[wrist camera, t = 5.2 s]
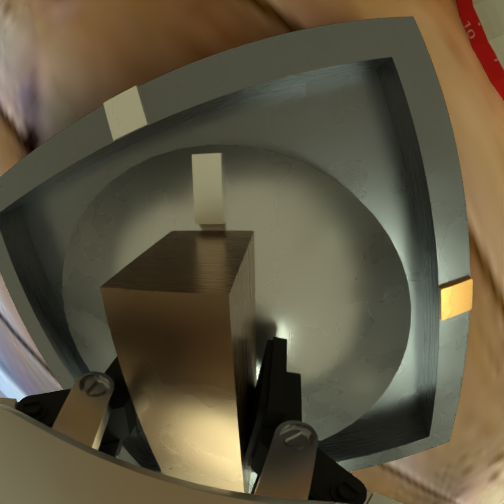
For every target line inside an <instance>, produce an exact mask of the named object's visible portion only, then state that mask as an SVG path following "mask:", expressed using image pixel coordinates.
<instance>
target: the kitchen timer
mask: <svg viewBox="0 0 504 504" xmlns="http://www.w3.org/2000/svg"><path fill="white" fill-rule="evenodd" d="M456 1H457V6H458V10H459V15H460V18H461V20H462V22H463V25H464V27H465V30H466V32H467V35H468V37H469V40H470V42H471V45H472V48H473V50H474V51H475V53H476V55H477V57H478V58H479V60H480V62H481V64H482V66H483V68H484V70H485V72H486V73H487V75H488V77H489V79H490V81H491V83H492V84H493V86H494V87H495V89H496V90H497V91H498V93H499V94H500V96H501V97H502V99H503V100H504V0H456Z"/></svg>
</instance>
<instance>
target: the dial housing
mask: <svg viewBox="0 0 504 504" xmlns="http://www.w3.org/2000/svg"><path fill="white" fill-rule="evenodd" d="M103 104H104V105H103V106H101V107H99V108H97V109H96V110H94V111H92V112H91V113H89V114H87V115H86V116H84V117H82V118H81V119H79V120H77V121H76V122H74V123H73V124H71V125H70V126H68V127H67V128H65V129H63V130H62V131H60V132H59V133H57V134H56V135H55V136H53V137H52V138H50V139H49V140H47V141H46V142H45V143H43V144H42V145H40V146H39V147H38V148H36V149H35V150H34V151H32V152H31V153H30V154H28V155H27V156H26V157H24V158H23V159H22V160H20V161H19V162H18V163H17V164H15V165H14V166H13V167H12V168H10V169H9V170H8V171H7V172H6V173H4V174H3V175H2V176H1V177H0V273H1V275H2V277H3V280H4V282H5V285H6V287H7V289H8V291H9V294H10V296H11V298H12V300H13V302H14V304H15V307H16V309H17V311H18V313H19V315H20V317H21V319H22V321H23V323H24V325H25V326H26V328H27V330H28V332H29V334H30V336H31V338H32V339H33V341H34V343H35V345H36V347H37V348H38V350H39V352H40V353H41V355H42V357H43V358H44V360H45V362H46V363H47V365H48V367H49V368H50V370H51V371H52V373H53V374H54V376H55V378H56V379H57V381H58V382H59V384H60V385H61V387H62V388H63V389H64V390H66V389H71V388H72V387H73V385H74V383H75V382H76V380H77V379H78V377H79V376H81V375H82V374H84V373H87V372H90V370H89V369H88V367H87V366H86V364H85V363H84V361H83V359H82V357H81V355H80V353H79V351H78V349H77V347H76V345H75V343H74V340H73V338H72V335H71V333H70V330H69V327H68V323H67V319H66V315H65V310H64V302H63V294H62V277H63V267H64V261H65V255H66V251H67V248H68V245H69V241H70V238H71V235H72V233H73V231H74V229H75V227H76V225H77V223H78V221H79V219H80V217H81V215H82V214H83V213H84V211H85V210H86V208H87V207H88V206H89V204H90V203H91V201H92V200H93V199H94V198H95V197H96V196H97V195H98V194H99V193H100V192H101V191H102V190H103V189H104V188H105V187H106V186H107V185H108V184H109V183H110V182H111V181H112V180H114V179H115V178H117V177H118V176H119V175H121V174H122V173H124V172H125V171H126V170H128V169H129V168H131V167H133V166H135V165H137V164H139V163H141V162H143V161H145V160H147V159H149V158H151V157H154V156H157V155H160V154H164V153H167V152H170V151H174V150H177V149H182V148H189V147H196V146H203V145H239V146H246V147H252V148H257V149H263V150H268V151H273V152H276V153H279V154H282V155H285V156H288V157H291V158H294V159H296V160H299V161H301V162H303V163H305V164H307V165H309V166H311V167H313V168H315V169H317V170H319V171H321V172H323V173H324V174H326V175H328V176H329V177H331V178H332V179H334V180H335V181H336V182H338V183H339V184H341V185H342V186H343V187H345V188H346V189H347V190H349V191H350V192H351V193H353V194H354V195H355V196H356V197H357V198H358V199H359V200H360V201H361V202H362V203H363V204H364V205H365V206H366V207H367V208H368V209H369V210H370V211H371V212H372V213H373V214H374V216H375V217H376V218H377V220H378V221H379V223H380V224H381V225H382V227H383V228H384V229H385V231H386V232H387V234H388V235H389V237H390V238H391V240H392V242H393V244H394V246H395V248H396V250H397V252H398V254H399V256H400V258H401V261H402V264H403V267H404V271H405V274H406V277H407V280H408V285H409V292H410V299H411V328H410V333H409V339H408V344H407V348H406V351H405V354H404V357H403V359H402V362H401V365H400V367H399V369H398V371H397V373H396V375H395V376H394V378H393V380H392V382H391V384H390V385H389V386H388V388H387V389H386V391H385V392H384V393H383V395H382V396H381V397H380V399H379V400H378V401H377V402H376V403H375V404H374V405H373V406H372V407H371V408H370V409H369V410H368V411H367V412H366V413H365V414H363V415H362V416H361V417H360V418H358V419H357V420H356V421H355V422H353V423H352V424H351V425H349V426H347V427H346V428H344V429H343V430H341V431H339V432H338V433H336V434H334V435H332V436H330V437H328V438H326V439H323V440H321V441H319V442H318V446H317V447H318V448H319V449H320V450H322V451H323V452H324V453H325V454H327V455H328V456H329V457H330V458H332V459H333V460H334V461H335V462H337V463H338V464H339V465H340V466H342V467H343V468H344V469H345V470H347V471H348V472H349V471H354V470H358V469H362V468H367V467H371V466H375V465H379V464H382V463H386V462H390V461H393V460H397V459H400V458H403V457H406V456H410V455H413V454H416V453H419V452H422V451H425V450H427V449H430V448H433V447H436V446H438V445H441V444H443V443H446V442H448V441H449V440H450V436H451V432H452V428H453V424H454V420H455V416H456V411H457V406H458V401H459V396H460V391H461V385H462V379H463V372H464V365H465V357H466V348H467V338H468V326H469V310H472V284H473V279H472V278H471V277H470V252H469V234H468V222H467V212H466V203H465V195H464V188H463V181H462V175H461V169H460V163H459V158H458V153H457V148H456V143H455V139H454V134H453V130H452V126H451V122H450V118H449V114H448V110H447V107H446V103H445V100H444V97H443V93H442V90H441V87H440V84H439V81H438V78H437V75H436V72H435V69H434V66H433V63H432V61H431V58H430V55H429V53H428V50H427V48H426V45H425V43H424V40H423V38H422V35H421V33H420V31H419V28H418V26H417V24H416V22H415V20H414V17H391V18H377V19H367V20H358V21H350V22H343V23H336V24H330V25H324V26H318V27H313V28H308V29H303V30H298V31H294V32H290V33H285V34H281V35H277V36H273V37H269V38H266V39H262V40H258V41H255V42H251V43H248V44H245V45H241V46H238V47H235V48H232V49H229V50H226V51H223V52H220V53H217V54H214V55H211V56H209V57H206V58H203V59H201V60H198V61H195V62H193V63H190V64H188V65H185V66H183V67H180V68H178V69H176V70H173V71H171V72H169V73H166V74H164V75H162V76H160V77H157V78H155V79H153V80H151V81H149V82H147V83H145V84H143V85H141V86H134V87H132V88H130V89H128V90H126V91H124V92H122V93H120V94H119V95H117V96H115V97H113V98H111V99H109V100H108V101H106V102H104V103H103ZM119 459H121V460H123V461H126V462H129V463H131V464H134V465H137V466H140V467H143V468H146V469H149V470H152V471H155V472H158V473H161V474H163V473H162V471H161V469H160V467H159V465H158V462H157V460H156V458H155V456H154V454H153V451H152V449H151V447H150V445H149V442H148V440H147V438H146V435H145V433H144V432H142V431H140V433H139V436H138V438H137V437H134V436H131V435H130V436H129V437H126V438H124V442H123V445H122V449H121V452H120V456H119ZM256 477H257V474H256V473H255V472H254V471H253V470H251V477H250V484H254V482H255V480H256Z"/></svg>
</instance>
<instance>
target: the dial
mask: <svg viewBox="0 0 504 504" xmlns="http://www.w3.org/2000/svg"><path fill="white" fill-rule="evenodd" d="M62 294H63V302H64V310H65V315H66V319H67V323H68V327H69V330H70V333H71V335H72V338H73V340H74V343H75V345H76V347H77V349H78V351H79V353H80V355H81V357H82V359H83V361H84V363H85V364H86V366H87V367H88V369H89V370H90V372H92V371H96V372H102V373H105V371H106V370H107V369H108V367H109V366H110V365H111V363H112V362H113V361H114V359H115V358H116V357H118V360H119V363H120V367H121V370H122V373H123V376H124V379H125V382H126V385H127V388H128V391H129V393H130V396H131V399H132V402H133V405H134V407H135V410H136V413H137V415H138V418H139V420H140V423H141V425H142V428H143V430H144V433H145V435H146V438H147V440H148V442H149V445H150V447H151V449H152V451H153V454H154V456H155V458H156V460H157V462H158V465H159V467H160V469H161V471H162V473H163V474H164V475H168V476H171V477H175V478H178V479H182V480H186V481H190V482H194V483H198V484H202V485H206V486H211V487H216V488H220V489H225V490H231V491H236V492H242V493H248V490H249V484H250V477H251V470H252V469H251V468H250V467H251V466H248V465H249V458H245V451H246V445H247V439H248V432H249V426H250V419H251V413H252V406H253V400H254V393H255V387H256V383H257V379H258V375H259V371H260V368H261V364H262V360H263V356H264V352H265V347H266V343H267V340H268V339H269V340H273V337H278V338H284V339H287V372H294V373H300V374H301V395H302V422H304V423H307V424H308V425H310V426H311V427H312V428H313V429H314V430H315V431H316V433H317V435H318V442H319V441H321V440H323V439H326V438H328V437H330V436H332V435H334V434H336V433H338V432H339V431H341V430H343V429H344V428H346V427H347V426H349V425H351V424H352V423H353V422H355V421H356V420H357V419H358V418H360V417H361V416H362V415H363V414H365V413H366V412H367V411H368V410H369V409H370V408H371V407H372V406H373V405H374V404H375V403H376V402H377V401H378V400H379V399H380V397H381V396H382V395H383V393H384V392H385V391H386V389H387V388H388V386H389V385H390V384H391V382H392V380H393V378H394V376H395V375H396V373H397V371H398V369H399V367H400V365H401V362H402V359H403V357H404V354H405V351H406V348H407V344H408V339H409V333H410V328H411V299H410V292H409V285H408V280H407V277H406V274H405V271H404V267H403V264H402V261H401V258H400V256H399V254H398V252H397V250H396V248H395V246H394V244H393V242H392V240H391V238H390V237H389V235H388V234H387V232H386V231H385V229H384V228H383V227H382V225H381V224H380V223H379V221H378V220H377V218H376V217H375V216H374V214H373V213H372V212H371V211H370V210H369V209H368V208H367V207H366V206H365V205H364V204H363V203H362V202H361V201H360V200H359V199H358V198H357V197H356V196H355V195H354V194H353V193H351V192H350V191H349V190H347V189H346V188H345V187H343V186H342V185H341V184H339V183H338V182H336V181H335V180H334V179H332V178H331V177H329V176H328V175H326V174H324V173H323V172H321V171H319V170H317V169H315V168H313V167H311V166H309V165H307V164H305V163H303V162H301V161H299V160H296V159H294V158H291V157H288V156H285V155H282V154H279V153H276V152H273V151H268V150H263V149H257V148H252V147H246V146H239V145H203V146H196V147H189V148H182V149H177V150H174V151H170V152H167V153H164V154H160V155H157V156H154V157H151V158H149V159H147V160H145V161H143V162H141V163H139V164H137V165H135V166H133V167H131V168H129V169H128V170H126V171H125V172H124V173H122V174H121V175H119V176H118V177H117V178H115V179H114V180H112V181H111V182H110V183H109V184H108V185H107V186H106V187H105V188H104V189H103V190H102V191H101V192H100V193H99V194H98V195H97V196H96V197H95V198H94V199H93V200H92V201H91V203H90V204H89V206H88V207H87V208H86V210H85V211H84V213H83V214H82V215H81V217H80V219H79V221H78V223H77V225H76V227H75V229H74V231H73V233H72V235H71V238H70V241H69V245H68V248H67V251H66V255H65V261H64V267H63V277H62Z"/></svg>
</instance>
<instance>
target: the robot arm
mask: <svg viewBox="0 0 504 504" xmlns="http://www.w3.org/2000/svg"><path fill="white" fill-rule="evenodd" d="M140 431H142V432H144V430H143V428H142V425H141V423H140V420H139V418H138V415H137V413H136V410H135V407H134V405H133V402H132V399H131V396H130V393H129V391H128V388H127V385H126V382H125V379H124V376H123V373H122V370H121V367H120V363H119V360H118V357H116V358H115V359H114V361H113V362H112V363H111V365H110V366H109V367H108V369H107V370H106V371H105V373H102V372H96V371H92V372H87V373H84V374H82V375H81V376H79V377H78V379H77V380H76V382H75V383H74V385H73V387H72V388H71V389H66V390H60V391H55V392H49V393H43V394H37V395H31V396H27V397H25V398H23V399H22V400H21V401H20V402H17V400H16V399H11V398H0V504H404V503H401V502H399V501H396V500H394V499H391V498H389V497H386V496H384V495H382V494H379V493H377V492H374V493H373V494H372V493H370V492H368V491H367V490H366V488H365V486H364V484H363V483H362V482H361V481H360V480H359V479H357V478H356V477H355V476H353V475H352V474H351V473H349V472H348V471H347V470H345V469H344V468H343V467H342V466H340V465H339V464H338V463H337V462H335V461H334V460H333V459H332V458H330V457H329V456H328V455H327V454H325V453H324V452H323V451H322V450H320V449H319V448H318V447H317V446H318V435H317V433H316V431H315V430H314V429H313V428H312V427H311V426H310V425H308V424H307V423H304V422H302V395H301V374H300V373H294V372H287V339H284V338H278V337H273V340H269V339H268V340H267V343H266V347H265V352H264V356H263V360H262V364H261V368H260V371H259V375H258V379H257V383H256V387H255V393H254V400H253V406H252V413H251V419H250V426H249V432H248V439H247V445H246V451H245V458H249V465H248V466H251V467H250V468H251V469H252V470H253V471H254V472H255V473H256V474H257V477H256V480H255V482H254V485H253V488H252V491H251V494H248V493H242V492H236V491H231V490H225V489H220V488H216V487H211V486H206V485H202V484H198V483H194V482H190V481H186V480H182V479H178V478H175V477H171V476H168V475H164V474H161V473H158V472H155V471H152V470H149V469H146V468H143V467H140V466H137V465H134V464H131V463H129V462H126V461H123V460H121V459H119V456H120V452H121V449H122V445H123V442H124V438H126V437H129V436H130V435H131V436H134V437H137V438H138V436H139V433H140Z"/></svg>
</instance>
